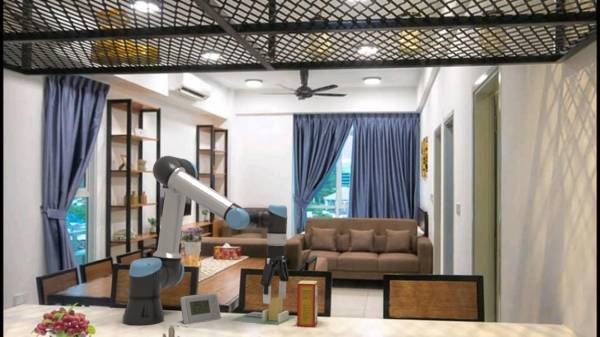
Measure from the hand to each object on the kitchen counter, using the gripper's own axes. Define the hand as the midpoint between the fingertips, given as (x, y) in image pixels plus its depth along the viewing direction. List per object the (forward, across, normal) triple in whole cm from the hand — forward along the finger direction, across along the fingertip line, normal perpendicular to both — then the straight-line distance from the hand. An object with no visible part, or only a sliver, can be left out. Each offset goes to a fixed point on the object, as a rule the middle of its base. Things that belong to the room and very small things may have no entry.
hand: (274, 300), depth 186 cm
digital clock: (+9, -13, +24) cm, 29 cm away
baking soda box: (+8, +3, -13) cm, 15 cm away
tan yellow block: (+7, 0, -1) cm, 7 cm away
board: (+8, 0, +4) cm, 9 cm away
